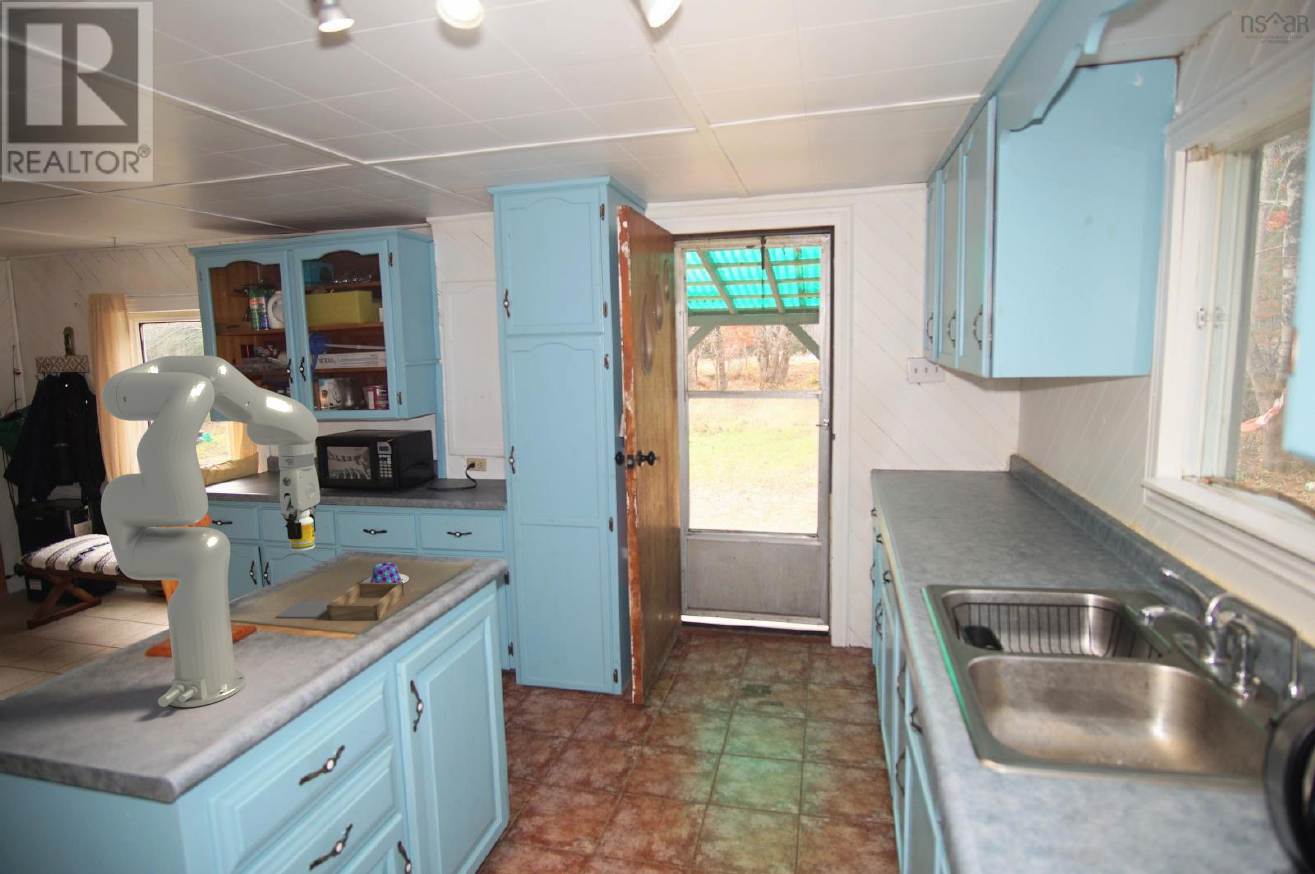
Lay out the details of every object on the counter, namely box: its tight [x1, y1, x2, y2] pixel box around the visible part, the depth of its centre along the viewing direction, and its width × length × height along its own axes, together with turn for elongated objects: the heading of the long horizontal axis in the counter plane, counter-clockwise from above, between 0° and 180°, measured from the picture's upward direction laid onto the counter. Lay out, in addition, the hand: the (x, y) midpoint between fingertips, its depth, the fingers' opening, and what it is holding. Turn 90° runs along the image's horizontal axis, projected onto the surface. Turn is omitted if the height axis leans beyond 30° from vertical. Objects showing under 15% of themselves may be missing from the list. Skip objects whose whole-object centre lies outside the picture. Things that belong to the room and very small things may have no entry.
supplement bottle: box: [289, 508, 316, 552], centre depth 167 cm, size 5×5×10 cm
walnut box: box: [326, 582, 405, 621], centre depth 172 cm, size 16×12×4 cm
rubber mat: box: [275, 600, 334, 619], centre depth 170 cm, size 10×10×1 cm
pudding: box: [362, 562, 410, 584], centre depth 189 cm, size 12×12×5 cm
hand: (302, 534), depth 167 cm, fingers closed on supplement bottle, 5 cm apart
